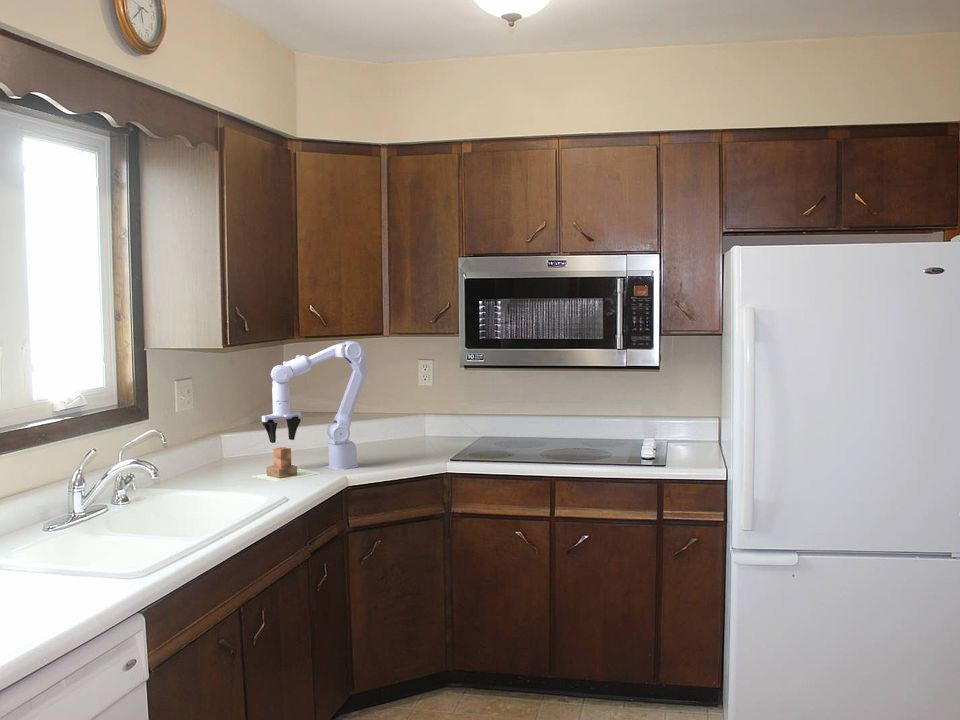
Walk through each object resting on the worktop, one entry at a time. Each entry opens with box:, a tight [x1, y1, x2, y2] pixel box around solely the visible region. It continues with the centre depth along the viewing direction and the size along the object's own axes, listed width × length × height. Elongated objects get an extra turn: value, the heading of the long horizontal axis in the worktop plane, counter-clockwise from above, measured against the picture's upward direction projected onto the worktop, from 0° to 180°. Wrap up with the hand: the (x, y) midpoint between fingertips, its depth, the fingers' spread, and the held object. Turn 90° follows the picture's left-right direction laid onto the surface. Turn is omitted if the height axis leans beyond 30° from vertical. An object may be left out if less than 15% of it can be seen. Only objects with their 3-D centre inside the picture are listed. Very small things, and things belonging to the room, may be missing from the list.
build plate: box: [251, 467, 322, 483], centre depth 272 cm, size 18×14×1 cm
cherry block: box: [273, 446, 292, 468], centre depth 269 cm, size 4×4×6 cm
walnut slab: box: [265, 464, 298, 479], centre depth 270 cm, size 7×7×3 cm
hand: (282, 441), depth 278 cm, fingers open, 7 cm apart
